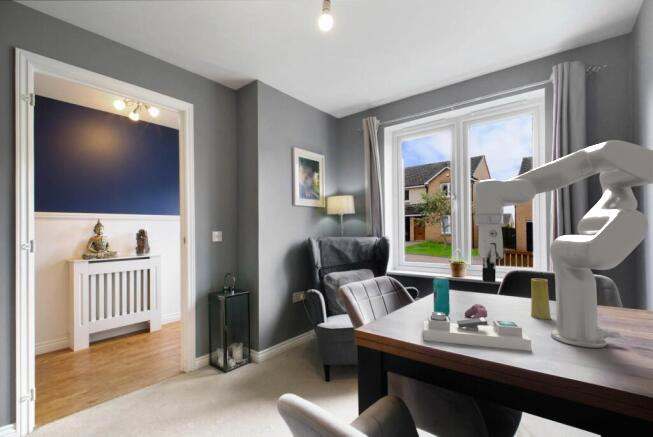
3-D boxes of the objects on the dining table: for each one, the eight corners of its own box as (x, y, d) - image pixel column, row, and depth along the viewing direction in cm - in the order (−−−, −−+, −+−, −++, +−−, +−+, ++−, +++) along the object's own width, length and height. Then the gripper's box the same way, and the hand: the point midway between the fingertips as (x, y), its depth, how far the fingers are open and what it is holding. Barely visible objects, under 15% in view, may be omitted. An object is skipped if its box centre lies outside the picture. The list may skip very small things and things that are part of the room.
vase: (531, 313, 117) (529, 277, 118) (550, 316, 113) (549, 279, 114) (530, 317, 112) (529, 279, 113) (551, 320, 108) (549, 281, 109)
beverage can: (432, 313, 118) (431, 276, 119) (447, 314, 117) (446, 276, 118) (435, 317, 112) (434, 278, 113) (451, 318, 112) (450, 278, 112)
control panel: (519, 338, 90) (518, 320, 91) (531, 350, 81) (530, 330, 81) (423, 329, 99) (423, 313, 99) (424, 340, 89) (423, 321, 89)
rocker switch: (485, 320, 91) (484, 317, 91) (487, 324, 87) (486, 320, 87) (457, 324, 93) (456, 320, 93) (459, 327, 89) (458, 323, 90)
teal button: (512, 330, 88) (512, 322, 89) (517, 334, 85) (516, 326, 85) (497, 329, 90) (497, 321, 90) (501, 333, 86) (501, 325, 86)
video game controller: (482, 328, 104) (491, 311, 104) (470, 322, 105) (479, 305, 105) (474, 320, 114) (482, 304, 113) (463, 314, 115) (471, 298, 114)
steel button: (444, 320, 94) (444, 312, 94) (446, 323, 90) (445, 315, 90) (431, 319, 95) (431, 311, 95) (432, 322, 92) (432, 314, 92)
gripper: (510, 219, 81) (510, 286, 81) (496, 222, 96) (496, 278, 95) (480, 219, 84) (480, 284, 83) (471, 221, 98) (470, 277, 97)
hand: (488, 281), depth 89 cm, fingers closed
